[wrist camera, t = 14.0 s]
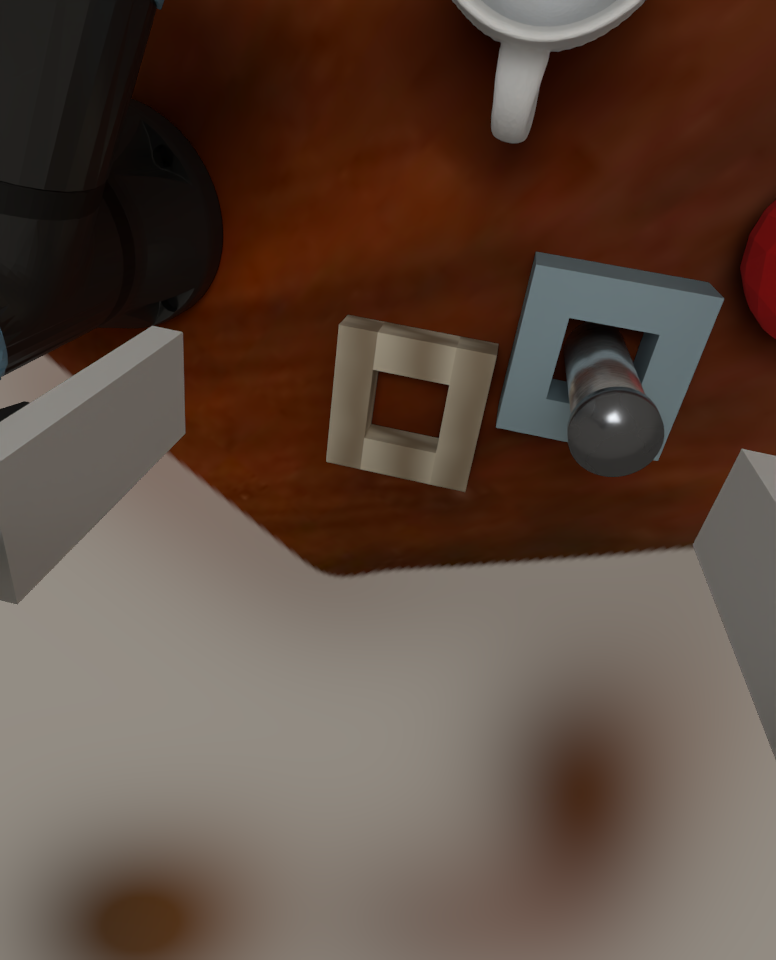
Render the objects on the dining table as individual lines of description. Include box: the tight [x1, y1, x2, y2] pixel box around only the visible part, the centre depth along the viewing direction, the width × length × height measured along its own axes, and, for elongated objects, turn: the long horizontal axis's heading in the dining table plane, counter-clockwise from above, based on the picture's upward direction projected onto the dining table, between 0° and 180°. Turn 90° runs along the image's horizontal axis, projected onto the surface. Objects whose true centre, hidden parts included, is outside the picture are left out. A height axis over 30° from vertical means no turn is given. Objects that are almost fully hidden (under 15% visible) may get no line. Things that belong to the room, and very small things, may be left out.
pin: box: [564, 322, 664, 477], centre depth 38 cm, size 5×5×14 cm
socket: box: [496, 252, 724, 461], centre depth 42 cm, size 11×11×4 cm
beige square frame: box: [326, 315, 499, 492], centre depth 48 cm, size 11×11×2 cm
